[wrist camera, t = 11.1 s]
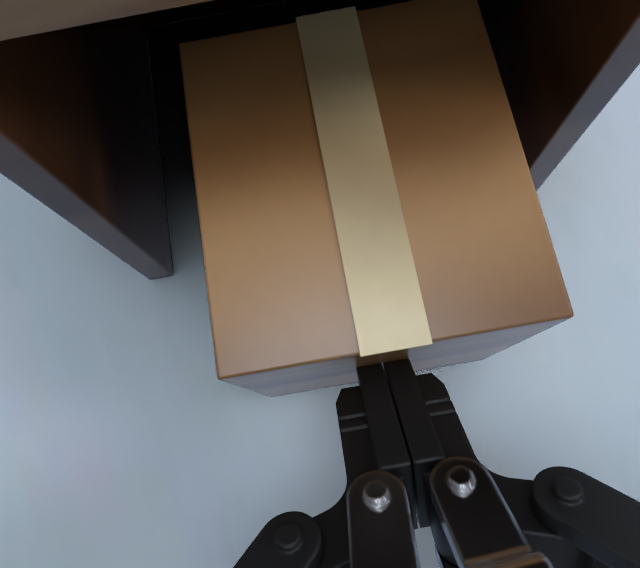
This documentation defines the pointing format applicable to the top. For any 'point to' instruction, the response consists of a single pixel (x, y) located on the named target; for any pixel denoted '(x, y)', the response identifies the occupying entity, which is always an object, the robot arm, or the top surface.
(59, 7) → the cabinet
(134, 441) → the top surface
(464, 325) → the parcel box
